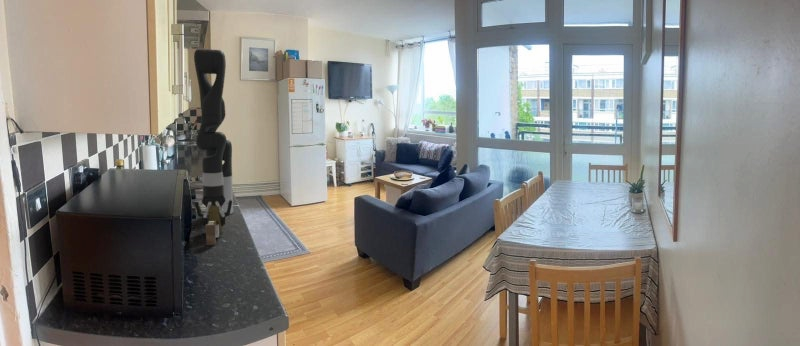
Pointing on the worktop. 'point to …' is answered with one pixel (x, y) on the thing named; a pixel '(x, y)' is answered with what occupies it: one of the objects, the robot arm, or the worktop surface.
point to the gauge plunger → (216, 228)
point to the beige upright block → (210, 233)
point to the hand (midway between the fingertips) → (214, 226)
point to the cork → (214, 215)
